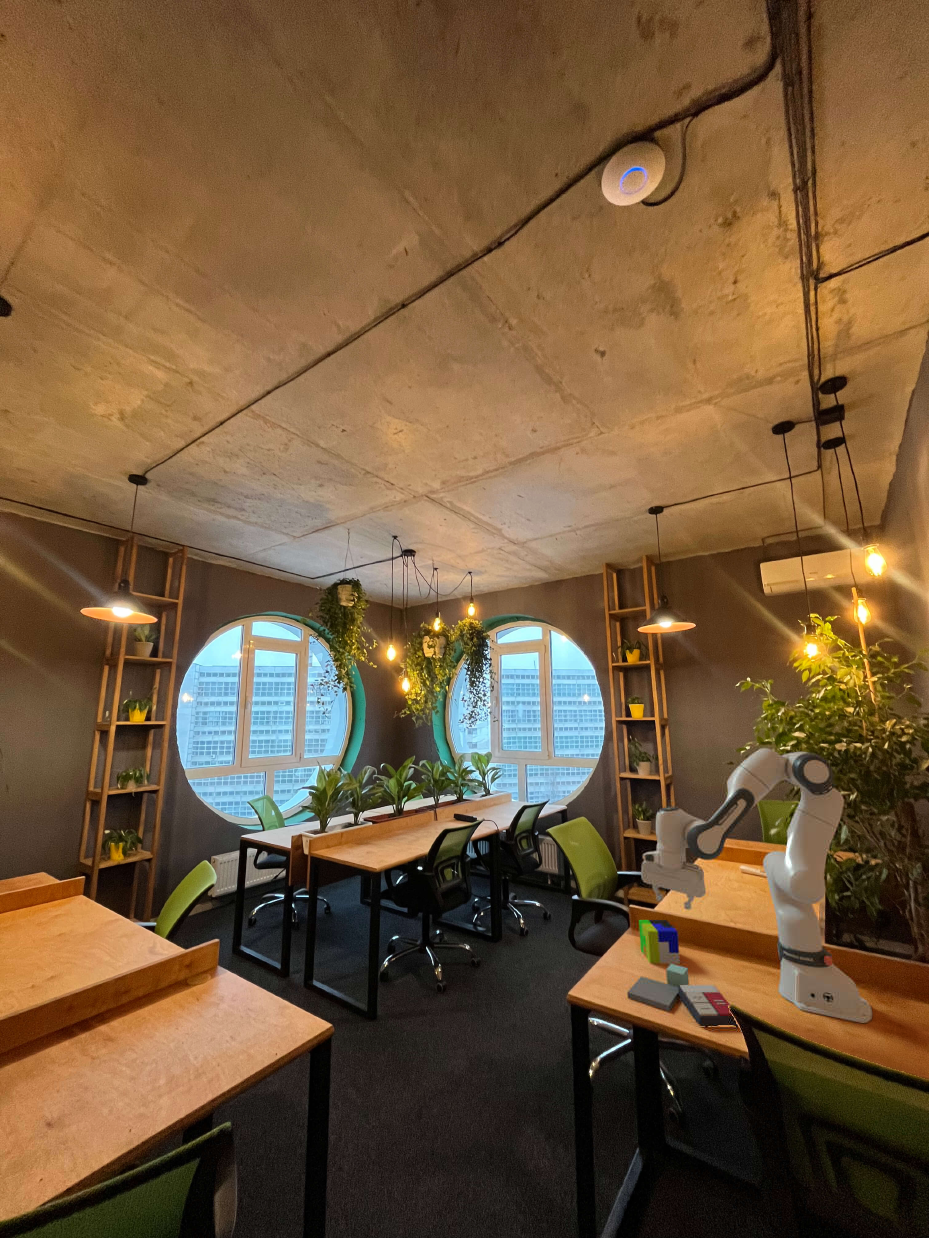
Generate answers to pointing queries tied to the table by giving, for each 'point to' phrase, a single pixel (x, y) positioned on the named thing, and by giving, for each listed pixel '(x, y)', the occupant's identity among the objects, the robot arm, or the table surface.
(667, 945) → the puzzle toy
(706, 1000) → the calculator
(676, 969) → the teal cube
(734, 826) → the robot arm
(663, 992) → the slate coaster
